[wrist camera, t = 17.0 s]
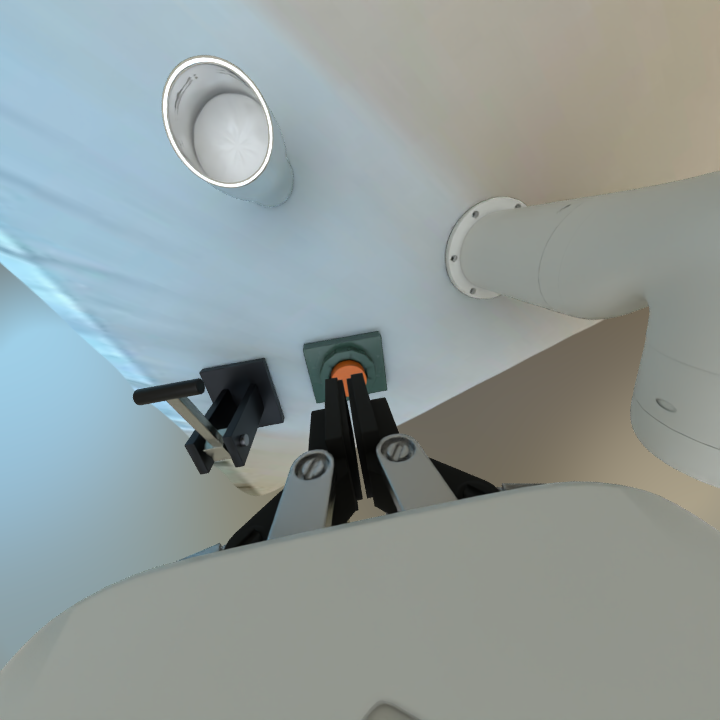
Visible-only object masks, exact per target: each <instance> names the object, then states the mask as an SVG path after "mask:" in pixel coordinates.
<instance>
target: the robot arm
mask: <svg viewBox="0 0 720 720" xmlns="http://www.w3.org/2000/svg"><path fill="white" fill-rule="evenodd" d="M472 214H474V216H473V217H472ZM452 256H453V259H452V260H451V257H452ZM446 268H447V272H448V275H449V278H450V280H451V281H452V283H453V285H454V286H455V287H456V288H457V289H458V290H459V291H461V292H462V293H464V294H465V295H467V296H470V297H473V298H477V299H490V298H495V297H498V296H501V295H505V296H508V297H511V298H515V299H518V300H521V301H524V302H527V303H530V304H534V305H537V306H540V307H543V308H546V309H549V310H553V311H556V312H559V313H563V314H566V315H569V316H573V317H577V318H582V319H591V320H596V319H608V318H613V317H618V316H622V315H625V314H628V313H632V312H634V311H637V310H640V309H642V308H645V307H647V306H649V312H650V315H649V321H648V327H647V332H646V342H645V346H644V350H643V354H642V359H641V362H640V367H639V371H638V375H637V379H636V383H635V387H634V392H633V396H632V402H631V409H630V412H631V413H630V414H631V415H630V416H631V423H632V427H633V430H634V432H635V434H636V436H637V438H638V439H639V440H640V442H641V443H642V444H643V445H644V446H645V447H646V448H647V449H648V450H649V451H650V452H651V453H652V454H653V455H654V456H656V457H657V458H659V459H660V460H662V461H663V462H664V463H666V464H668V465H669V466H671V467H673V468H674V469H676V470H678V471H680V472H682V473H684V474H686V475H689V476H690V477H693V478H695V479H697V480H699V481H702V482H704V483H707V484H709V485H712V486H715V487H718V488H720V171H716V172H712V173H708V174H704V175H700V176H696V177H692V178H688V179H684V180H679V181H674V182H669V183H665V184H660V185H655V186H649V187H644V188H639V189H633V190H627V191H621V192H615V193H608V194H602V195H596V196H590V197H583V198H577V199H571V200H565V201H558V202H552V203H546V204H539V205H533V206H527V205H525V204H524V203H523V202H521V201H519V200H517V199H515V198H510V197H496V198H491V199H488V200H485V201H482V202H480V203H478V204H477V205H475V206H473V207H472V208H470V209H469V210H468V211H467V212H466V213H465V214H464V215H463V216H462V217H461V218H460V220H459V221H458V222H457V224H456V225H455V227H454V229H453V231H452V232H451V235H450V238H449V240H448V244H447V249H446ZM470 290H471V291H470ZM346 380H347V387H348V393H349V400H350V407H351V413H352V420H353V426H354V433H355V438H356V444H357V449H358V454H359V459H360V464H361V469H362V474H363V479H364V484H365V489H366V494H367V498H371V497H373V500H374V505H375V507H378V508H379V509H381V510H383V511H384V512H386V515H384V516H378V517H374V518H369V519H364V520H360V521H355V522H349V519H350V517H351V516H352V515H353V513H354V512H355V511H357V510H358V502H357V500H361V499H363V498H362V491H361V485H360V477H359V470H358V463H357V456H356V450H355V443H354V436H353V430H352V425H351V420H350V414H349V409H348V404H347V399H346V394H345V389H344V384H343V380H338V378H337V377H336V378H330V379H325V409H321V410H316V411H312V413H311V424H310V436H309V449H308V452H306V453H303V454H302V455H300V456H299V457H298V458H297V459H296V460H295V461H294V462H293V464H292V466H291V468H290V471H289V474H288V477H287V480H286V484H285V487H284V489H283V490H282V491H281V492H279V493H278V494H277V495H276V496H275V497H274V498H273V499H272V500H271V501H270V502H269V503H267V504H266V505H265V506H264V507H263V508H262V509H261V510H260V511H259V512H258V513H257V514H255V515H254V516H253V517H252V518H251V519H250V520H249V521H248V522H247V523H246V524H245V525H244V526H242V527H241V528H240V529H239V530H238V531H237V532H236V533H235V534H234V535H233V537H231V539H230V540H229V541H228V543H227V544H226V545H224V546H221V544H220V543H218V544H216V545H214V546H211V547H209V548H207V549H204V550H202V551H200V552H197V553H195V554H193V555H190V556H188V557H186V558H183V559H181V560H179V561H176V562H173V563H169V564H166V565H162V566H159V567H155V568H152V569H149V570H147V571H144V572H141V573H138V574H135V575H132V576H130V577H128V578H125V579H123V580H121V581H119V582H116V583H114V584H112V585H109V586H107V587H105V588H103V589H101V590H100V591H98V592H96V593H94V594H92V595H91V596H89V597H87V598H85V599H83V600H81V601H79V602H78V603H76V604H75V605H73V606H72V607H70V608H69V609H67V610H65V611H64V612H63V613H61V614H60V615H58V616H57V617H56V618H54V619H53V620H51V621H50V622H49V623H48V624H47V625H45V626H44V627H43V628H42V629H40V630H39V631H38V632H37V633H36V634H35V635H34V636H33V637H32V638H31V639H30V640H29V641H28V642H27V643H26V644H25V645H24V646H23V647H22V648H21V649H20V650H19V651H18V652H17V653H16V654H15V655H14V656H13V657H12V659H11V660H10V661H9V662H8V663H7V664H6V666H4V668H3V669H2V670H1V671H0V720H720V531H718V530H717V529H715V528H714V527H712V526H711V525H709V524H708V523H706V522H705V521H703V520H702V519H700V518H699V517H697V516H695V515H694V514H692V513H691V512H689V511H687V510H686V509H684V508H682V507H680V506H679V505H677V504H675V503H673V502H671V501H669V500H667V499H665V498H663V497H661V496H659V495H656V494H653V493H651V492H648V491H645V490H641V489H637V488H633V487H628V486H623V485H616V484H609V483H600V482H559V483H550V484H502V487H495V486H494V485H492V484H491V483H489V482H487V481H485V480H482V479H480V478H478V477H475V476H473V475H470V474H468V473H465V472H463V471H461V470H458V469H456V468H453V467H451V466H448V465H446V464H443V463H441V462H439V461H436V460H434V459H431V458H429V457H428V456H427V455H426V454H425V452H424V450H423V449H422V448H421V446H420V445H419V443H418V442H417V441H416V440H415V439H414V438H413V437H411V436H409V435H405V434H399V432H398V429H397V427H396V424H395V421H394V419H393V416H392V414H391V411H390V408H389V406H388V403H387V400H386V398H385V397H384V398H379V399H374V400H370V398H369V395H368V391H367V387H366V384H365V380H364V377H363V373H357V374H352V375H351V378H348V379H346Z"/></svg>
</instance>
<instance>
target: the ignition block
mask: <svg viewBox="0 0 720 720" xmlns="http://www.w3.org/2000/svg"><path fill="white" fill-rule="evenodd" d="M303 352H304V356H305V360H306V364H307V368H308V372H309V375H310V379H311V383H312V387H313V391H314V395H315V399H316V403H322V402H325V379H330V378H331V373H332V370H333V368H334V367H335V366H336V365H337V364H338V363H340V362H342V361H346V360H351V361H355V362H357V363H359V364H360V365H361V366H362V367H363V368H364V371H365V374H366V378H367V383H366V387H367V391H368V394H370V393H375V392H380V391H386V390H387V383H386V375H385V366H384V358H383V349H382V341H381V335H380V334H379V332H378V331H375V332H370V333H364V334H359V335H353V336H348V337H342V338H336V339H331V340H325V341H320V342H314V343H308V344H304V347H303ZM346 399H347V401H348V400H349V397H347V396H346Z"/></svg>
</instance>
